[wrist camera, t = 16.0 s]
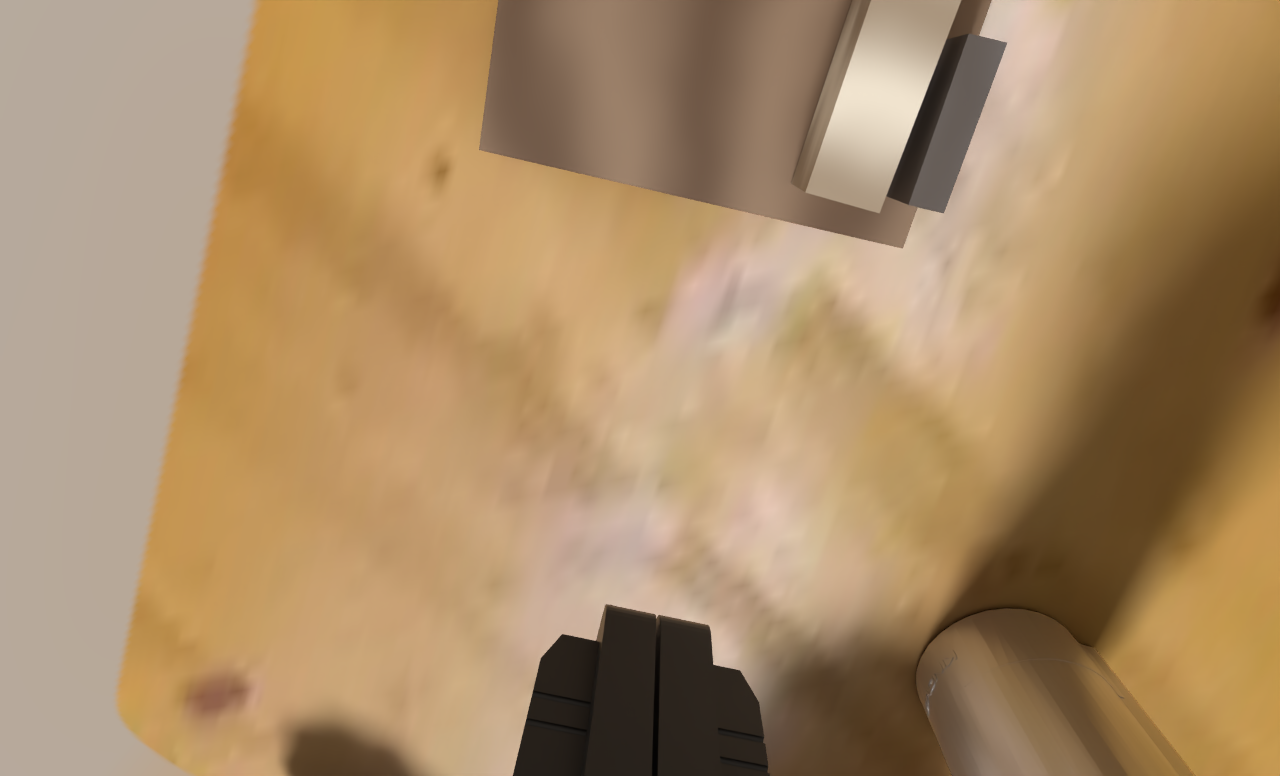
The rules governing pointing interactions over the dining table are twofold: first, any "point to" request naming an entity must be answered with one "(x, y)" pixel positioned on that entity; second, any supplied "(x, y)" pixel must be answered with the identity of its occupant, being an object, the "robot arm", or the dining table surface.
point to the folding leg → (872, 98)
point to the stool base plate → (716, 102)
